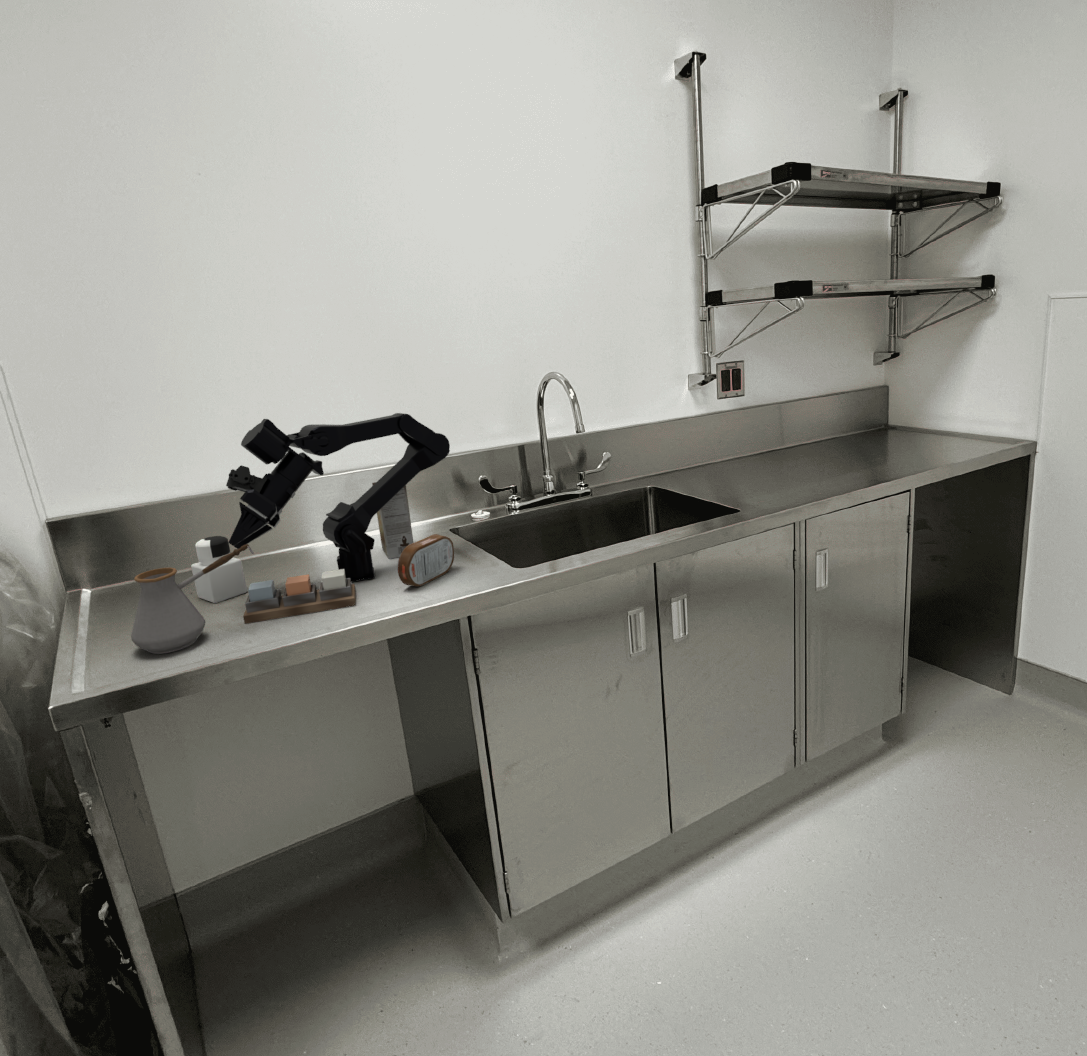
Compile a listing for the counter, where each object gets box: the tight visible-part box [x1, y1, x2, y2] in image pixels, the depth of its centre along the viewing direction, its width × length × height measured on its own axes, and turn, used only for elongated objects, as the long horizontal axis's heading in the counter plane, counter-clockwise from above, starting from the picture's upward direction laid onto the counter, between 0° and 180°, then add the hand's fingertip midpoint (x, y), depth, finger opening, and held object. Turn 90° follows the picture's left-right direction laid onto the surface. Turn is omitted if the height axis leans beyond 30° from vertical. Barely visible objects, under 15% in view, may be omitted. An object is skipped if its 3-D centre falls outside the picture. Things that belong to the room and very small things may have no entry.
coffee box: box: [371, 481, 415, 560], centre depth 165 cm, size 9×6×16 cm
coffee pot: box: [130, 543, 255, 655], centre depth 126 cm, size 21×12×15 cm, turn 115°
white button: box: [321, 569, 347, 590], centre depth 138 cm, size 4×4×3 cm
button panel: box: [242, 578, 357, 625], centre depth 138 cm, size 20×8×3 cm, turn 104°
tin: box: [397, 533, 455, 588], centre depth 146 cm, size 15×3×8 cm, turn 149°
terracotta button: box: [284, 573, 312, 596], centre depth 137 cm, size 4×4×3 cm
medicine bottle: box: [190, 535, 248, 604], centre depth 147 cm, size 7×7×12 cm
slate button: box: [247, 579, 276, 602], centre depth 136 cm, size 4×4×3 cm
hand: (233, 546), depth 136 cm, fingers open, 9 cm apart
